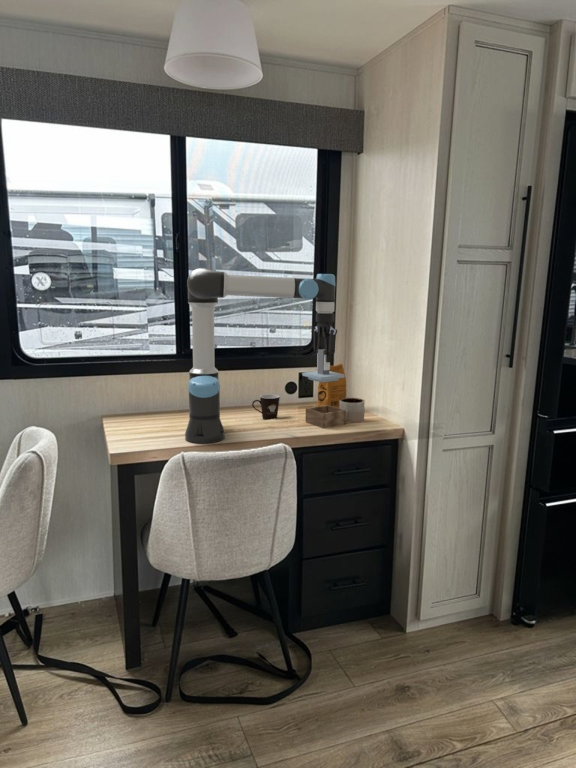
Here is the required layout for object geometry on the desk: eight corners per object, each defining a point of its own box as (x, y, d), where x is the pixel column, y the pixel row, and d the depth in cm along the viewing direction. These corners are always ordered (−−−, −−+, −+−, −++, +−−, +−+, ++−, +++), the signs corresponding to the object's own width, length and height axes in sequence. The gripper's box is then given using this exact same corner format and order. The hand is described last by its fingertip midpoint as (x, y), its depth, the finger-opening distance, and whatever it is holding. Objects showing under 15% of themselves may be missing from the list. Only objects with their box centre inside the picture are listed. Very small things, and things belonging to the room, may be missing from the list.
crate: (323, 430, 238) (323, 414, 237) (305, 424, 248) (305, 408, 247) (345, 426, 245) (345, 410, 244) (327, 420, 255) (327, 404, 253)
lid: (320, 383, 234) (321, 352, 232) (302, 378, 244) (302, 348, 242) (344, 380, 241) (345, 350, 239) (325, 376, 251) (326, 347, 249)
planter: (346, 425, 246) (346, 403, 245) (334, 419, 256) (335, 398, 255) (368, 423, 250) (369, 401, 249) (356, 417, 260) (357, 396, 259)
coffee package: (314, 410, 274) (315, 364, 270) (336, 407, 280) (337, 362, 276) (326, 414, 265) (327, 367, 261) (348, 411, 271) (349, 365, 267)
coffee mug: (280, 416, 261) (280, 394, 259) (278, 421, 253) (278, 398, 251) (254, 415, 262) (254, 393, 261) (251, 420, 254) (251, 397, 252)
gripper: (345, 313, 233) (343, 371, 237) (319, 310, 246) (318, 365, 250) (331, 313, 229) (329, 372, 233) (305, 311, 242) (304, 367, 246)
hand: (323, 369), depth 242 cm, fingers closed on lid, 3 cm apart
